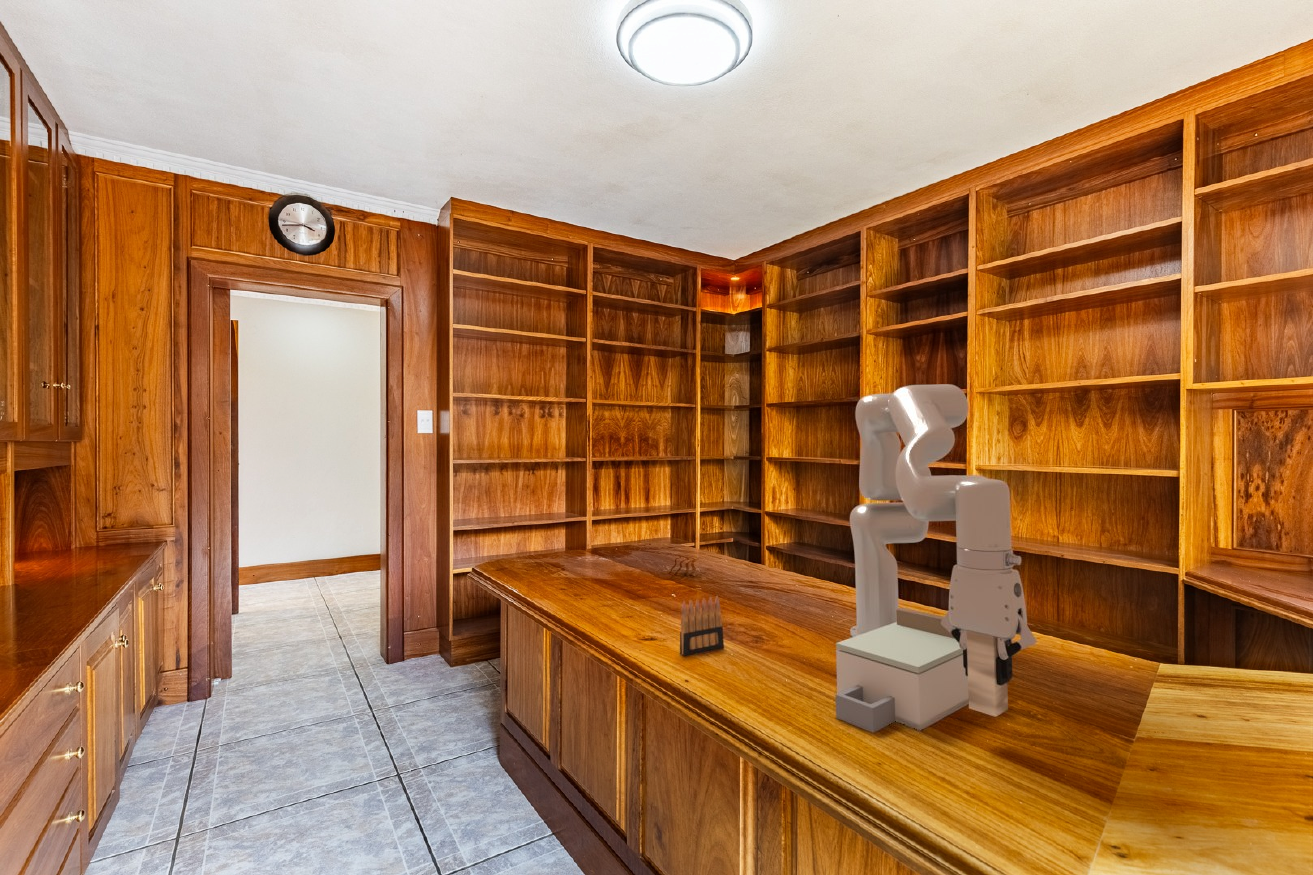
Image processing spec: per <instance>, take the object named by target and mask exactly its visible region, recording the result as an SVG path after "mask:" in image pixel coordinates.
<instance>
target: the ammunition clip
mask: <svg viewBox="0 0 1313 875" xmlns="http://www.w3.org/2000/svg"><path fill="white" fill-rule="evenodd" d="M700 604H701V605H700ZM694 605H695V606H694ZM680 629H681V630H680V632H679V655H681V656H683V657H690V656H694V655H698V654H704V653H709V652H713V651H718V650H723V649H724V648H725V643H724V641H725V640H724V631H723V630H724V627H723V626H722V613H721V604H720V599H719V596H718V595H716V597H715V600H714V602H713V598H712V597H711V596H709V598H708V603H707V601H706V598H704V597H703V598H702V601H701V603H700V601H699V599H698V598H696V601H695V604H693V600H692V599H690V600H689V602H688V607H687V604H686V601H685V600H684V601H683V602H682V605H681V619H680Z"/></svg>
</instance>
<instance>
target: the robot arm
mask: <svg viewBox="0 0 1313 875" xmlns="http://www.w3.org/2000/svg"><path fill="white" fill-rule="evenodd" d="M854 413H855V421H856V422H855V423H856V428H857V430H858V434H859V436H860V443H861V444H860V446H861V447H860V460H859V463H860V464H859V478H858V479H859V480H858V481H859V482H858V484H859V485H858V487H859V492H860V494H861V496H863V497H864V499H866V500H870V501H878V502H869V503H862V504H859V505H856V506H855V507H854V508H853V509H852V510H851V511H850V515H849V524H850V525H849V526H850V530H851V535H852V536H851V537H852V542H853V550H854V566H855V567H854V570H855V605H856V606H855V608H856V625H854V626H851V628H850V629H849V630H850V631H849V632H850V634H849V635H850V636H851V638H852V637H855V636H858V635H861V634H864V633H866V632H869V631H872V630H875V629H878V628H881V627H884V626H887V625H889V624H892V623H895V622H897V614H896V609H899V582H898V581H899V579H898V578H899V574H898V563H897V560H896V558H895V556H894V554H892V552H891V551H890V550H889V549H888V548H887V546H886V545H887V544H909V543H910V544H911V543H913V544H914V543H919V542H921V541H923V540H924V539H926V536H927V534H928V530H929V522H946V521H948V522H950V521H951V522H952V521H954V522H955V530H956V531H955V535H956V538H955V539H956V540H955V541H956V564H955V565H953V567H952V570H951V577H950V583H949V584H950V585H949V594H948V611H947V612H946V613H945V615H944V616H943V617H944V618H943V619H942V621H941V625H942V626H943V627H944V628H945V629H947V630H948V631H949V632H951V634H952V636H953V637H954V638H955V639H956V640H957V642H958V643H959V647H960V648H961V649H963V666H964V668H965V675H966V676H968V662H967V631H966V630H969V631H973V632H978V633H982V634H987V635H991V636H994V637H996V644H997V648H998V653H999V657H998V658H996V681H997V684H998V685H1001V686H1002V685H1004V684H1006V683H1007V684H1008V683H1009V682H1010V681H1011V680H1012V679H1013V656H1016V655H1017V653H1019V652H1020V651H1021V650H1024V649H1026V648H1028V647H1032V646H1033V645H1036V644H1037V638H1036V637H1035V635H1034V634H1033V633H1032V631H1031V629H1030V628H1029V626H1028V618H1027V616H1028V615H1027V607H1026V600H1025V594H1024V588H1023V583H1022V579H1021V575H1020V572H1019V570H1017V569H1013V567H1014V566H1020V565H1021V564H1022V557H1021V556H1020V555H1016V554H1014V550H1013V549H1012V528H1011V527H1012V526H1011V494H1010V487H1009V486H1008V483H1006V482H1005V481H1004V480H1001V479H995V478H988V477H986V476H984V475H979V474H978V475H975V474H970V475H957V474H956V475H955V474H954V475H951V474H949V475H932V473H931V470H930V467H929V466H928V465H931V464H932V463H935V462H938V461H939V460H941V459H943V458H944V457H945V456H947V455H948V454H949V453H950V452H951V450H952V449H953V447H954V446H955V440H956V439H955V433H954V430H953V429H954V428H956V427H960V425H963V423H965V421H966V419H967V417H968V414H969V401H968V398H967V396H966V394H965V392H964V391H963V390H962V389H961V388H960V387H958V386H957V385H954V384H951V383H950V384H948V383H947V384H946V383H945V384H943V383H942V384H939V383H938V384H911V385H905V386H901V387H899V388H897V389H896V390H894V391H893V392H892V393H876V394H873V393H872V394H868V395H865V396H863V397H861V398H860V399H859V400H858V401H857V404H856V406H855V412H854ZM897 433H898V434H899V436H900V438H901V440H902V442H903V444H904V447H903V449H902V450H901V440H900V438H899V436H898V434H897ZM879 501H880V502H879ZM881 501H888V502H881ZM889 501H891V502H889ZM892 501H902V502H892ZM1016 635H1019V637H1020V639H1019V640H1017V641H1015V642H1014V639H1015V638H1016Z"/></svg>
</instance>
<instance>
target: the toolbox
mask: <svg viewBox="0 0 1313 875" xmlns="http://www.w3.org/2000/svg"><path fill="white" fill-rule="evenodd" d="M835 657H836V659H835V660H836V661H835V662H836V689H837V690H836V692H837V693H835V694H834V696H835V697H834V698H835V718H836V719H838V720H840V721H842V722H844V723H848V724H850V725H853V726H855V727H858V728H860V729H861V730H862V729H863V730H865V731H868V732H869V733H872V734H874V733H877V732H878V731H880V730H882V729H884V728H885V727H888V726H889V724H890V725H892V724H893V723H899V724H900V723H901V725H903V724H905V725H904V726H906V727H909V728H911V729H914V728H915V729H914V730H916V729H917V731H923V730H924V729H926V728H929V726H931V725H934V724H935V723H937V722H939V721H940V720H942V719H943V718H945V717H948V716H949V715H951V714H953V713H955V712H957V711H959V710H960V709H962V708H965V706H968V705H969V694H968V676H966V675H965V668H964V666H963V653H962V654H960V655H958V656H956V657H953V658H951V659H949V660H947V661H945V662H942V663H940V664H938V665H936V666H934V667H931V668H929V669H927V670H925V671H922V672H920V673H916V672H912V671H909V670H906V669H902V668H899V667H896V666H892V665H889V664H886V663H882V662H879V661H876V660H872V659H869V658H866V657H862V656H859V655H856V654H852V653H849V652H846V651H842V650H839V649H835ZM895 721H896V722H895ZM891 723H892V724H891ZM922 729H923V730H922Z"/></svg>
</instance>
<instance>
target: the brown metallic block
mask: <svg viewBox="0 0 1313 875" xmlns="http://www.w3.org/2000/svg"><path fill="white" fill-rule="evenodd" d="M966 631H967V662H968V694H969V704H968V709H970V710H973V711H977V712H980V713H982V714H986V715H989V716H991V717H998V716H999V715H1001V714H1003V713H1004V712H1006V711H1008V710H1009V702H1008V701H1009V700H1008V699H1009V696H1008V682H1007V683H1006V684H1004V685H1002V686H1001V685H998V684H997V681H996V658H998V657H999V653H998V648H997V644H996V637H994V636H991V635H987V634H982V633H978V632H973V631H969V630H966Z"/></svg>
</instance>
